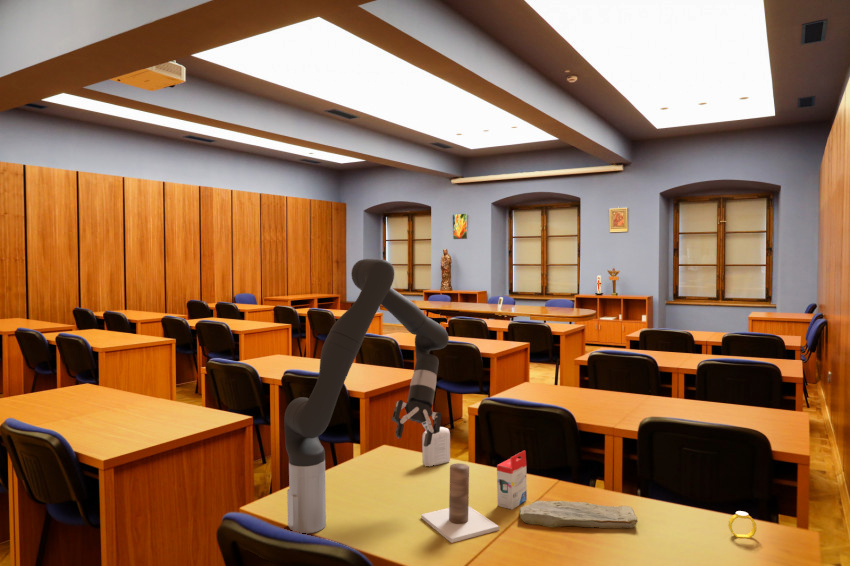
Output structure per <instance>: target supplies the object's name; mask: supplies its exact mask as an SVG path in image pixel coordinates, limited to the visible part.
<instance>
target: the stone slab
mask: <svg viewBox="0 0 850 566" xmlns="http://www.w3.org/2000/svg"><path fill="white" fill-rule="evenodd" d="M519 518H520V519H521V520H522V521H523V522H524V523H525V524H529V525H539V526H543V527H546V528H559V527H567V526H571V527H572V526H574V527H583V528H594V527H599V528H598V529H601V528H602V529H623V528H624V529H625V528H626V529H628V528H630V529H633V528H634V526H636V525H637V524H638V517H637V515H636V513H635V511H634V508H633V507H632V506H629V505H619V506H614V505H613V506H612V505H609V506H608V505H600V504H595V503H589V502H586V501H585V502H583V501H582V502H581V501H567V500H536V501H533V502H532V503H530V504H528V505H523V506H521V507H520V508H519ZM622 527H623V528H622Z"/></svg>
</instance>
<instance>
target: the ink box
mask: <svg viewBox="0 0 850 566" xmlns="http://www.w3.org/2000/svg"><path fill="white" fill-rule="evenodd" d="M496 476H497V477H496V478H497V479H496V480H497V481H496V484H497V489H496V492H497V494H496V495H497V506H498V507H501V508H504V509H507V510H514V509H515V508H516V507H519V506H520V505H521V504H523V503H525V502H526V501H527V499H528V498H527V492H528V491H527V490H528V489H527V487H528V485H527V454H526V450H522V451H521V452H518V453H516V454H515V455H513V456H510V458H508V459H507V460H504V461H502V462H501V463H499V464H497V465H496Z"/></svg>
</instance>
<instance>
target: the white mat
mask: <svg viewBox="0 0 850 566" xmlns="http://www.w3.org/2000/svg"><path fill="white" fill-rule="evenodd" d="M420 519H422V520H423V521H424V522H425V523H426V524H427V525H429V526H430V527H432V528H433V529H434V530H435V531H436V532H437V533H438V534H440V535H441V536H442V537H443V538H444V539H446V540H447V541H448V542H449V543H451V544H452V543H456V542H457V543H458V542H460V541H464V540H468V539H471V538H475V537H479V536H482V535H486V534H489V533H493V532H497V531H499V530H500V527H499V525H498V524H497V523H495V522H494V521H492V520H490V519H489V518H487V517H486V516H485V515H483V514H482V513H480V512H479V511H477V510H475V509H474V508H472V507H471V505H470V506H468V522H467V523H464V524H455V523H452V522H450V521H449V507H446V508H442V509H438V510H434V511H429V512H426V513H421V514H420Z"/></svg>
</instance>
